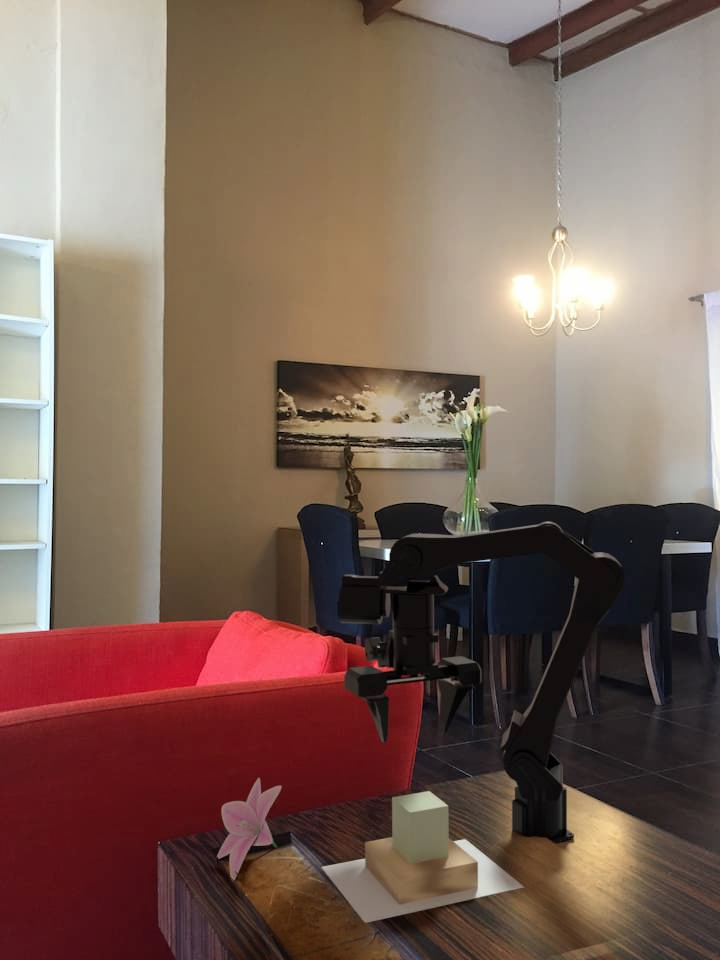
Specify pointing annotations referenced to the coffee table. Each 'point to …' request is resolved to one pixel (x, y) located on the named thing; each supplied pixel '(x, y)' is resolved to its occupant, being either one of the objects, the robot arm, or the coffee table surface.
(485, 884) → the white rectangular plate
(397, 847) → the top block
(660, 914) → the coffee table surface
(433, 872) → the base block
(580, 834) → the coffee table surface
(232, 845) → the lily
